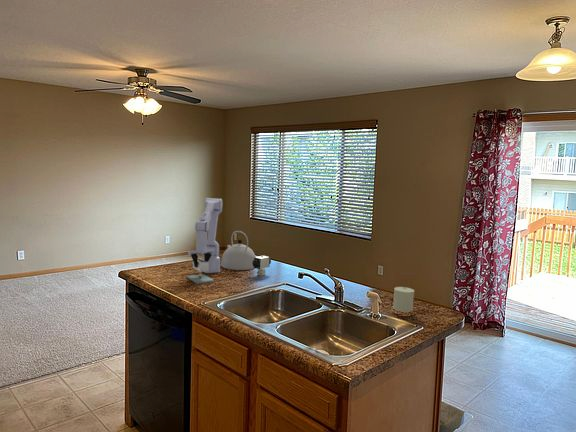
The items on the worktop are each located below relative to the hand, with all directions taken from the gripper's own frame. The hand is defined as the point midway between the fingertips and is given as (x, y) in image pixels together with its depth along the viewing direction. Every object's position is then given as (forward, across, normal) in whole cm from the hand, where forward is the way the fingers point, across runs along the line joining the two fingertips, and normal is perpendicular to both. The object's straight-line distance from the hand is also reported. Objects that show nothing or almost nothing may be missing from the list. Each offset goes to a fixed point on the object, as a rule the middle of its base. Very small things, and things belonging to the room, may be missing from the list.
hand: (200, 266), depth 239 cm
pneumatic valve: (+8, +37, -3) cm, 38 cm away
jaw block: (+2, 0, 0) cm, 2 cm away
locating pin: (+7, 0, 0) cm, 7 cm away
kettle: (+8, +36, +24) cm, 44 cm away
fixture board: (+7, 0, 0) cm, 7 cm away
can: (+8, +64, -89) cm, 110 cm away
